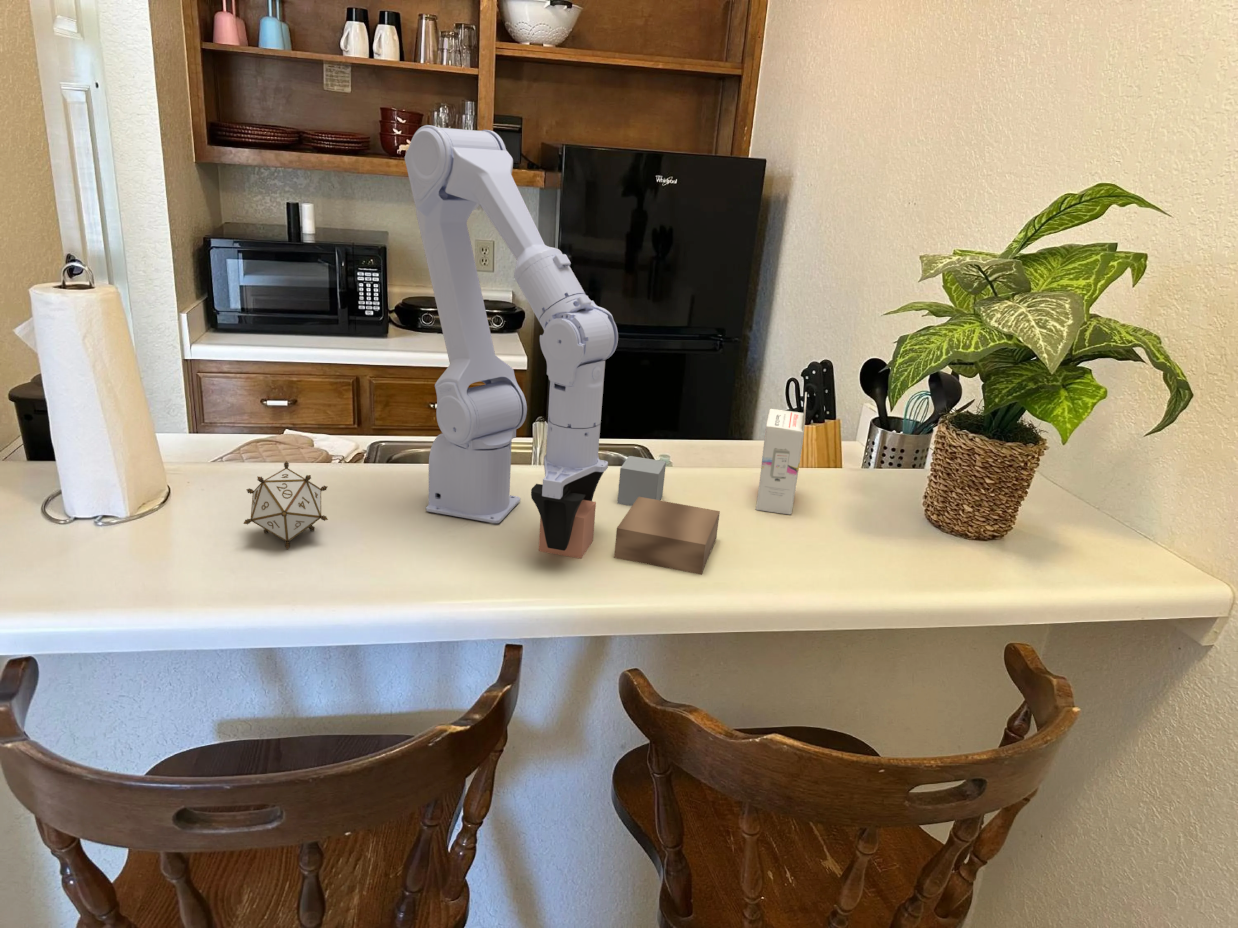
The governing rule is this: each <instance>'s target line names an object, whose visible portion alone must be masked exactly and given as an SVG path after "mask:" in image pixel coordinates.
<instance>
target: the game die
mask: <svg viewBox="0 0 1238 928" xmlns="http://www.w3.org/2000/svg"><path fill="white" fill-rule="evenodd" d="M289 464H290V463H289V461H287V460H285V462H284V463H283V467H284V468H283V469H280V470H279V471H277V472H276V473H274V474H273V475H271V476H269V477H267V478H265V479H264V478H263V476H257V479H256V480H257V481H259V485H258V486H256V488H255V489H253V488H247V489H246V491H247V494H250V495H251V494H252V496H251V497H252V498H251V499H252V500H251V511H250V518H247V519H244V521H243V523H242V524H244V525H249V524H251V523H253V524H255V525H257V526H258V527H261V528H262V529H263V533H264V534H267V533H268V534H269V533H271V534H273V535H274V536H275V537H277V538H279V539H280V540H283V541H284V542H285V543H284V547H285V548H286V550H289V548H290V547H291V543H290V541H292V540H293V539H295V538H296V537H297V536H299V535H300V534H302V533H303V532H305V531H306V530H307V529H308V530H309V531H310V532H311V531H313V532H314V531H315V526H314V524H315V523H317V522H318V521H319V520H322V521H324V522H325V521H328V520H329V518H328V517H327V515H325V514H324V515H322V492H325V491H327V489H328V486H327V485H323V486H321V487H319V486H317V485H316V484H314V483H313V482H311V481H310V480H311V479H312V476H311V475H312V474H306V476H305V477H303V476H302V475H300V474H298V473H297V472H295V471H294V470H292V469H290V468H289V466H290V465H289Z"/></svg>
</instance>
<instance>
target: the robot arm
mask: <svg viewBox="0 0 1238 928" xmlns="http://www.w3.org/2000/svg"><path fill="white" fill-rule="evenodd" d="M506 148H507V147H506V144H505V142H504V141H503V139H502V137H501V136H500V135H499V134H498V133H497V132H495V131H493V130H491V129H490V130H489V129H481V130H475V129H474V130H473V129H461V128H452V127H451V128H450V127H438V126H435V125H429V124H425V125H423V126H421V127H419V128H418V129H417V130H416V131H415V132H414V134H413V136H412V138H411V141H410V144H409V145H408V148H407V150H406V153H405V156H404V163H405V166H406V171H407V174H408V180H409V183H410V189H411V193H412V198H413V202H414V206H415V213H416V214H415V215H416V218H417V219H416V220H417V224H418V230H419V232H420V238H421V243H422V247H423V250H424V257H425V259H426V264H427V267H428V273H429V279H430V282H431V286H432V291H433V295H434V299H435V300H434V301H435V303H436V304H435V305H436V307H437V313H438V317H439V322H440V327H441V330H442V335H443V340H444V343H445V348H446V353H447V358H448V362H449V364H448V366H447V368H446V369H445V370H444V372H443V373H442V374H441V375H440V377H439V378H438V379H437V381H436V382H435V383H434V388H435V393H436V402H437V403H436V412H435V414H436V422H437V425H438V427H439V430H440V431H441V433H440V434H438V435H437V436H436V437H435V439H434V440H433V442H432V444H431V448H430V451H429V456H428V505H427V506H425V510H426V512H430V513H433V514H434V513H435V514H440V515H447V516H453V517H458V518H464V519H467V520H468V519H469V520H473V521H474V520H475V521H481V522H485V523H493V524H499V523H501V522H502V520H504V519H505V518H506V517H507V516H508V514H509V513H510V512H512V510H513V509H514V508H515V507H516V506H517V505H518V504H519V503H520V502H521V497H520V496H517V495H510V492H511V491H510V490H511V470H512V467H511V466H512V440H513V439H515V438H516V437H517V429H519V428H521V427H522V426H523V424H524V423H525V421H526V419H527V414H528V413H527V412H528V406H527V401H526V397H525V394H524V392H523V391H522V389H521V387H520V385H519V384H518V382H517V379H516V376H515V370H514V368H513V367H511V366H510V365H509V364H508V363H506V362H505V361H504V360H502V359H501V358H500V357H498V356H497V355H496V353H495V347H494V343H493V338H492V333H491V328H490V325H489V321H488V315H487V310H486V306H485V302H484V298H483V293H482V288H481V284H480V278H479V274H478V269H477V265H476V260H475V257H474V251H473V247H472V242H471V237H470V233H469V229H468V228H469V227H468V220H469V218H470V216H471V214H472V213H473V212H474V211H475V210H477V209H478V208H479V207H481V208H482V210H483V212H484V213H485V215H486V217H487V218H488V220H489V221H490V222H491V225H493V227H494V228H495V230H496V231H497V233H498V234H499V236H500V237H501V239H502V241H504V243H505V245H506V246H507V248H508V250H509V251H510V252H511V254H512V255H513V256H514V258H515V259H516V264H515V269H514V274H513V276H514V279H515V280H514V281H516V283H517V285H518V287H519V288H520V290H521V292H522V293H523V295H524V298H525V299H526V301H527V302H528V304H529V306H530V308H531V309H532V312H533V313H534V315H535V317H536V319H537V321H538V322H539V325H540V326H541V327H542V329H543V333H542V334H540V335H539V345H540V350H541V352H542V354H543V356H544V359H545V361H546V375H547V376H548V380H549V393H548V394H549V395H548V412H547V414H548V415H547V416H548V417H547V432H546V433H547V435H546V437H547V438H546V450H545V451H546V453H545V455H544V457H543V468H544V477H543V478H542V483H535V484H534V486H533V487H532V488H531V489H530V496H531V500H532V501H533V503H534V504H535V506H536V508H537V511H538V513H539V515H540V516H541V519H542V523H543V528H544V533H545V539H546V543H547V547H548V548H552V549H558V550H563V551H564V550H566V548H567V546H568V544H569V540H570V536H571V532H572V527H573V522H574V519H575V515H576V513H577V510H578V508H579V506H580V504H581V502H582V500H587V501H593V498H594V495H595V492H596V489H597V488H598V484H599V482H600V480H601V478H602V476H603V474H604V472H606V471H607V470H608V468H609V461H608V460H602V459H600V456H599V448H600V447H599V445H600V436H601V434H600V433H601V423H602V421H601V420H602V408H603V407H602V406H603V398H604V397H603V394H604V381H605V369H606V360H607V359H609V358H610V357H612V356H613V354H614V353H615V351H616V349H617V348H618V347H617V346H618V341H619V332H618V327H617V324H616V322H615V320H614V317H613V314H612V313H611V312H610V311H609V310H607V309H606V308H604V307H601V306H598V305H597V304H596V303H595V301H594V300H591V299H590V298H589V295H587V294H586V292H585V291H584V289H583V287H582V285H581V283H580V282H579V280H578V278H577V277H576V275H575V273H574V272H573V270H572V268H571V264H572V263H571V261H570V259H569V257H568V256H567V254H565V253H563V252H562V251H561V250H560V249H559V248H556V247H551V246H548V245H546V244H545V242H544V240H543V238H542V236H541V233H540V232H539V230H538V227H537V225H536V223H535V221H534V219H533V216H532V215H531V213H530V211H529V209H528V207H527V205H526V202H525V201H524V198H523V196H522V195H521V192H520V190H519V187H518V186H517V184H516V182H515V180H514V179H515V178H514V177H513V175H512V174H513V169H514V168H513V167H514V159H513V157H512V155H511V154H510V153H509V151H508V150H507V149H506ZM478 382H481V383H484V384H481V385H477V386H476V385H475V386H473V387H469V386H470V385H471V384H474V383H478Z"/></svg>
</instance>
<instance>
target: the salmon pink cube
mask: <svg viewBox="0 0 1238 928" xmlns="http://www.w3.org/2000/svg"><path fill="white" fill-rule="evenodd" d="M596 507H597V502H596V501H593V500H592V501H587V500H582V502H581V504H580V506H579V508H578V510H577V513H576V515H575V519H574V522H573V527H572V532H571V536H570V540H569V544H568V546H567V548H566V550H564V551H563V550H558V549H552V548H548V547H547V543H546V539H545V533H544V528H543V523H542V519H541V516H540V517H539V518H540V520H539V521H540V522H539V534H538V535H539V538H538V539H539V540H538V552H542V553H549V554H553V555H559V556H564V557H570V558H577V559H583V558H584V556H585V554H586V552H587V551H588V549H589V548H590V547H591V544H592V543H593V542H594V534H595V533H594V532H595V518H596V509H597V508H596Z"/></svg>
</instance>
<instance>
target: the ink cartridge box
mask: <svg viewBox="0 0 1238 928" xmlns="http://www.w3.org/2000/svg"><path fill="white" fill-rule="evenodd" d="M807 394H808V392H807V391H805V392H804V403H803V412H798V411H791V410H784V409H777V408H770V409H769V410H768V411H769V412H768V415H767V418H766V423H765V430H764V438H763V439H764V440H763V447H762V449H763V450H762V455H761V456H762V457H761V465H760V466H761V467H760V474H759V484H758V491H757V499H756V506H755V510H756V511H762V512H769V513H776V514H782V515H789V516H790V515H792V513H793V507H794V503H795V502H794V501H795V496H796V489H797V482H798V478H799V468H800V464H801V463H800V462H801V457H802V456H801V455H802V451H803V450H802V449H803V443H804V435H805V434H804V433H805V425H806V412H807V411H806V410H807V397H808V395H807Z"/></svg>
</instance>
